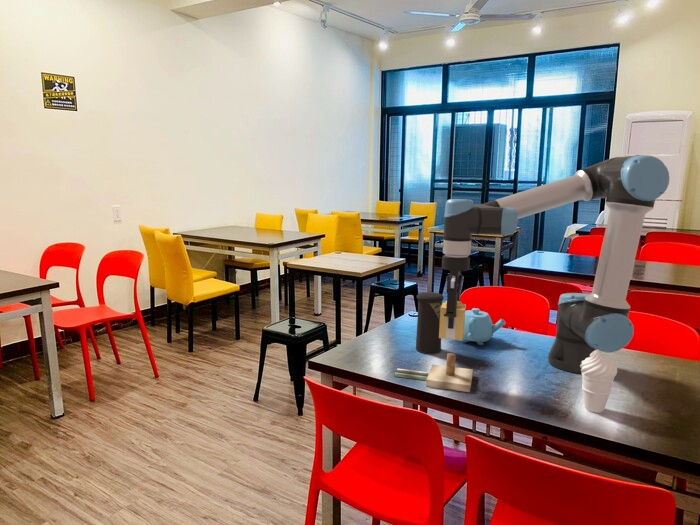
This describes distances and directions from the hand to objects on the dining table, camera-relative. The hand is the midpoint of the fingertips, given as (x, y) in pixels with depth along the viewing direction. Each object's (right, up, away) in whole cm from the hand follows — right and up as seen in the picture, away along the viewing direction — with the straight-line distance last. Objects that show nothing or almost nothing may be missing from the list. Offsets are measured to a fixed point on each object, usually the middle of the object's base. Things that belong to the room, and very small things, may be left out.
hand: (451, 335), depth 138 cm
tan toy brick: (0, 0, 0) cm, 0 cm away
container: (-2, -10, +28) cm, 30 cm away
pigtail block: (-5, -13, +4) cm, 15 cm away
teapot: (+17, -8, +38) cm, 43 cm away
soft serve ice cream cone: (+34, -17, -14) cm, 40 cm away
